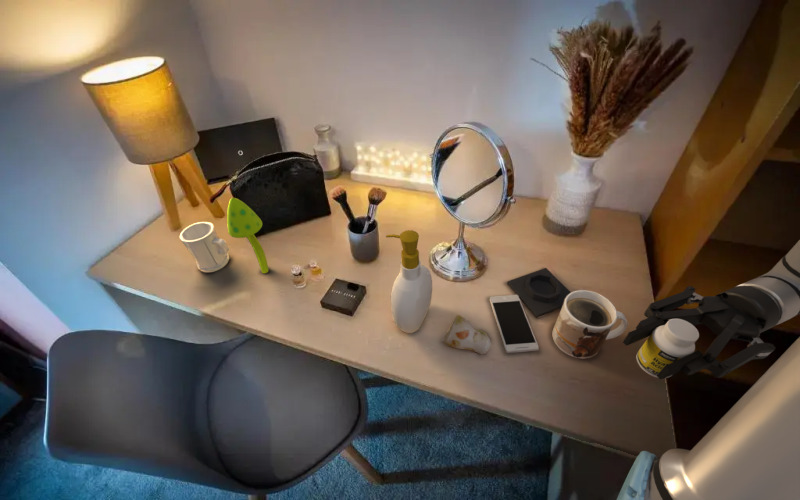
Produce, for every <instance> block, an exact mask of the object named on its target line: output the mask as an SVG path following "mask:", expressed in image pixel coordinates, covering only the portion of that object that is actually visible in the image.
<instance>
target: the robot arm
mask: <svg viewBox="0 0 800 500" xmlns="http://www.w3.org/2000/svg"><path fill="white" fill-rule="evenodd" d="M794 244H795V245H793V247H791V249H790V250H789V251H788V252H787V253H786V254H785V255H784V256H782V257H781V258H780V260H779V261H778V262H777V263H776V264H775V265H774V266H773V267H772V269H770V270H769V271H768V272H766V273H764V274H762V275H759V276H757V277H754V278H752V279H750V280H748V281H746V282H743V283H741V284H738V285H736V286H733V287H731V288H729V289H727V290H724V291H722V292H720V293H718V294H716V295H705V296H702V295H701V294H700V293H699V294H698V293H696V288H695V287H693V286H692V285H688V286H686V288H685V289H684V290H683V291H682V292H679V293H675V294H672V295H671V296H668V297H664V298H661V299H658V300H656V301H653V302H650V304H649V305H648V306H647V308H646V309H645V311H644V312H643V315H644V317H646V318H644V319H642V320H639V322H638V324H637V325H636V327H635V329H634V330H632V331H631V330H630V331H629V332H628V333H627V335H626V337H624V339H623V340H622V343H623V344H624V345H625V346H626V347H627V346H630V345H633V344H635V343H637V342H639V341H642V340H644V339H647V338H649V336H650V335H651V334H652V332H653V331H654V330H655V329H656V328H657V327H659V326H662V325H665V324H666V323H667V322H668V321H669V320H671V319H682V320H685V321H687V322H689V323H691V324H692V325H693V326H696V325H697V326H698V325H703V326H704V327H706V328H708V329H709V330H711V332H712V333H713V334H715V335H716V337H715V338H714V339H713V341H712V342H711V344H710V345H709V346H708V347H707V349H706V350H705V351H704V353H702V352H701V351H700V350H699V349H698V350H695V351H694V352H693V353H691V354H689V355H687V356H685V357H683V358H681V359H679V360H677V361H674V362H672V363H670V364H668V365H666V366H664V368H663V369H662V370H661V371H660V372H659V373H658V374H657V377H658V378H657V377H656V378H657V379H659V380H661V381H662V380H664V379H667V378H666V377H668V378H670V377H672V376H673V375H674V374H677V373H679V372H683V373H684V374H685V375H686V376H692V375H694V374H696V373H698V372H701V371H702V370H707V371H709V372H711V374H712V376H713V377H714V378H716V379H717V378H718V379H721V378H723V377H725V376H726V375H728V374H730V373H731V372H734V371H735V370H736V369H738V368H740V367H742V366H743V365H745V364H747V363H749V362H751V361H753V360H763V359H765V358H767V357H768V356H770V354H771V353H772V352H774V351H775V350H776V349H777V348H776V346H775V345H774V344H773V343H771V342H764V341H763V339H761V338H760V336H761V334H762V333H764V332H766V331H769V330H770V329H772V328H774V327H776V326H778V325H780V324H782V323H784V322H786V321H789V320H791V319H792V318H794V317H796V316H799V315H800V239H799V240H798V241H797V242H796V243H794ZM694 303H696V304H698V306H697V307H695V308H686V309H678V308H681V307H683V306H684V305H690V304H694ZM676 309H677V310H676ZM730 340H736V341H741V342H749V343H748V344H747V346H746V347H745V348H744V349H742V350H740V351H738V352H737V353H735V354H733V355H732V356H730V357H728V358H726V359H724V360H723V361H720V360H718V359H717V358H718V356H719V355H720V354H721V352H722V351H723V350H724V348H725V346H726V345H727V344H728V343H729V341H730ZM671 375H672V376H671ZM669 376H670V377H669ZM616 500H800V336H799V337H797V339H796V340H795V341H794V342H793V343H792V344H791V345H790V346H789V347H788V348H787V349H786V350H785V351H784V352H783V353H782V354H781V355H780V357H778V359H776V361H774V363H773V364H772V365H770V367H769V368H768V369H767V370H766V371H765V372H764V374H763V375H761V376H760V377H759V379H758V380H757V381H755V383H753V385H752V386H751V387H750V388H749V389H747V391H746V392H745V393H744V394H743V395H742V396H741V397H740V398H739V399H738V401H737V402H736V403H734V405H733V406H732V407H731V408H730V409H729V410H728V411H727V412H726V413H725V414H724V415H723V416H722V417H721V418H720V419H719V420H718V422H716V424H714V425H713V426H712V427H711V429H710V430H708V432H707V433H706V434H705V435H704V436H703V437H702V438H701V439H700V440H698V442H697V443H696V444H695V445H694V446H693V447H692V449H685V448H671V449H668V450H667V451H665V452H664V453H662V455H661V456H660V457H659V458H658V456H657V455H656V454H655V453H651V452H650V451H647V450H642V451H640V452H639V454H638V455H637V456H636V458H635V460H634V462H633V464H632V465H631V468H630V470H629V471H628V473H627V476H626V478H625V479H624V482H623V484H622V486H621V489H620V491H619V493H618V495H617V498H616Z"/></svg>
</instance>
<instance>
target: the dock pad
mask: <svg viewBox="0 0 800 500" xmlns="http://www.w3.org/2000/svg"><path fill="white" fill-rule="evenodd" d="M506 285H507V286H508V287H509V288H510V289H511V290H512V291H513V293H514V295H518V296H519V299H520V301H521V303H523V304H524V306H525V307H526V308H527V309H528V311H529V312H530V313H531V314H532V315H533V316H534V317H535V318H536V319H538V318H540V317H543V316H545V315H548V314H550V313H553V312H555V311H558V310H561V308H562V305H563V303H564V301H565V298H566V297H567V295H569V294H570V293H572V292H571V290H569V289H568V288H567V287H566V285H564V284H563V283H562V282H561V281H560V280H559V279H558V277H556V276H555V275H554V274H553V273H552V272H551V271H550V270H549V269H548V268H547V267H544V268H541V269H539V270H536V271H533V272H530V273H527V274H525V275H522V276H519V277H515V278H513V279H510V280H508V281H507V282H506Z"/></svg>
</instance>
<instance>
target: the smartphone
mask: <svg viewBox="0 0 800 500" xmlns="http://www.w3.org/2000/svg"><path fill="white" fill-rule="evenodd" d="M489 303H490V306H491V310H492V313H493V315H494V319H495V323H496V326H497V328H498V332H499V334H500V338H501V342H502V344H503V345H502V346H503V347H504V352H505V353H507V354H513V353H514V354H515V353H525V352H526V353H527V352H538V351H539V349H540V348H539V347H540V346H539V343H538V341H537V339H536V337H535V334H534V331H533V328H532V327H531V324H530V321H529V319H528V316H527V314H526V311H525V309H524V306H523V304H522V301H521V300H520V298H519V296H518V295H516V294H507V295H496V296H495V295H493V296H490V297H489Z"/></svg>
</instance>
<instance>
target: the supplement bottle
mask: <svg viewBox="0 0 800 500" xmlns="http://www.w3.org/2000/svg"><path fill="white" fill-rule="evenodd" d="M699 338H700V333H699V329H697V328H696V326H695V325H693V323H689V322H687V321H685V320H682V319H671V320H669V321H668V322H667V323H666V324H665V325H662V326H659V327H657V328H656V329H655V330H654V331H653V332H652V334H651V335H650V336H648V337H647V338H646V340H645V341H644V343H643V344H642V346H641V347H640V348H639V350H638V351H637V353H636V356H635V358H636V359H635V360H636V362H637V364H638V366H639V368H641V370H642V371H643V372H645V373H646V374H648V375H649V376H651V377H654V378H657V379H659V378H658V377H657V374H658V373H659V372H660V371H661V370H662V369H663V368H664V366H666V365H668V364H670V363H672V362H674V361H677V360H679V359H681V358H683V357H685V356H687V355H689V354H691V353H694V352H696V342H697V341H698V340H699ZM672 376H673V375H671V376H669V377H666V378H665V379H668V378H670V377H672Z"/></svg>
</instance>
